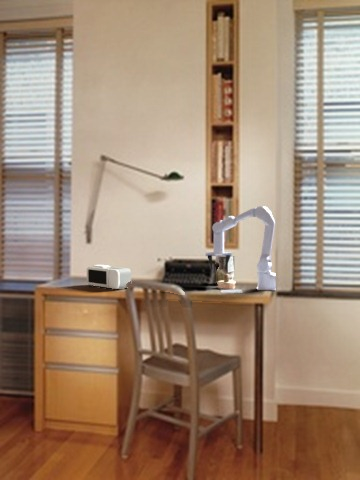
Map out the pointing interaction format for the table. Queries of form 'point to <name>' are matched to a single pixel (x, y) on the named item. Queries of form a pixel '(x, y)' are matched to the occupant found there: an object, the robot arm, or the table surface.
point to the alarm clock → (108, 276)
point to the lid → (226, 280)
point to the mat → (231, 291)
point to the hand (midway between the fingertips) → (218, 269)
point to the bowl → (226, 286)
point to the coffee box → (222, 270)
